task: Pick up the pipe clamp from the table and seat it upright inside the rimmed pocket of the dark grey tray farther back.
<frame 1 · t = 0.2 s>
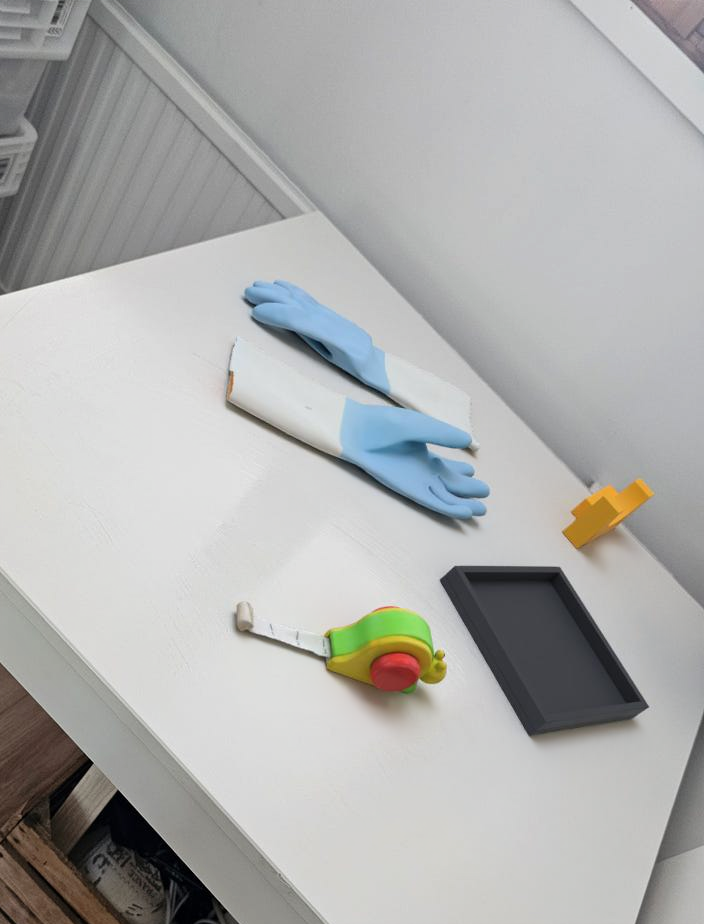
dark grey tray: (537, 650, 103), on the table
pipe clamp: (583, 525, 125), on the table
toy measuring tape: (331, 656, 86), on the table
rubber gloves: (359, 403, 114), on the table
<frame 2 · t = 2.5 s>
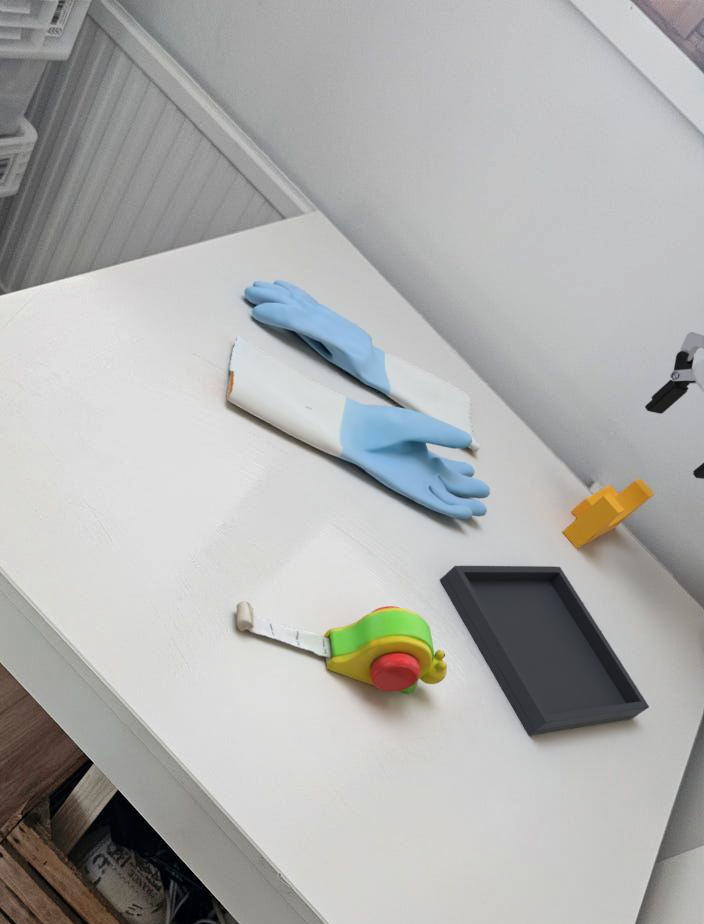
hand: (675, 442, 116), 14 cm above the table, tool pointing down, fingers open, 9 cm apart
nothing on the table moved.
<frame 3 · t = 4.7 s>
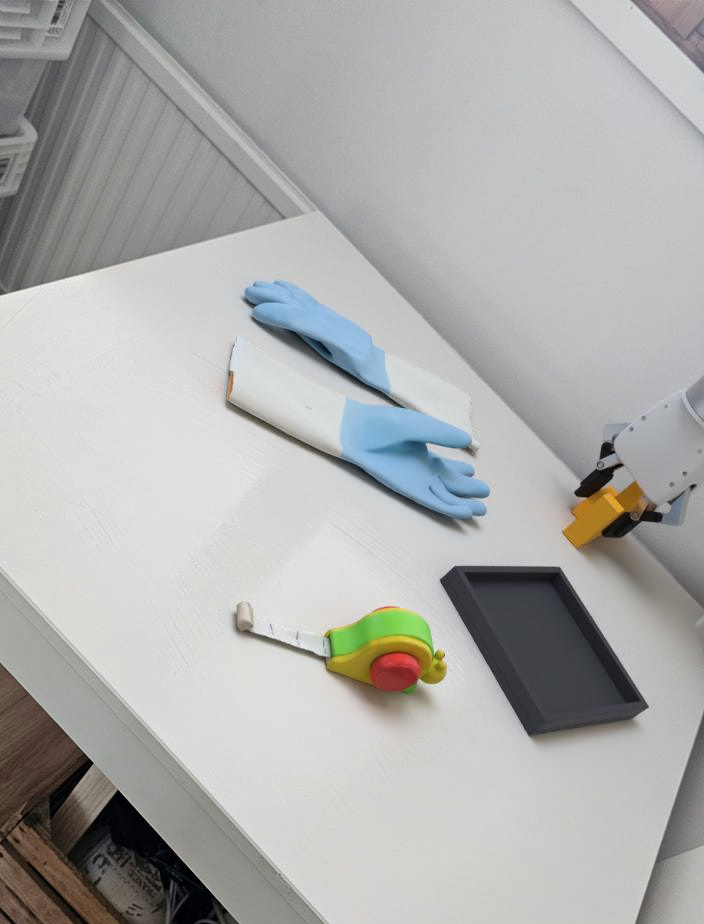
hand: (595, 514, 124), 2 cm above the table, tool pointing down, fingers closed on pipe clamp, 5 cm apart
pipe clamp: (583, 525, 125), on the table, touching gripper
everything else where it was.
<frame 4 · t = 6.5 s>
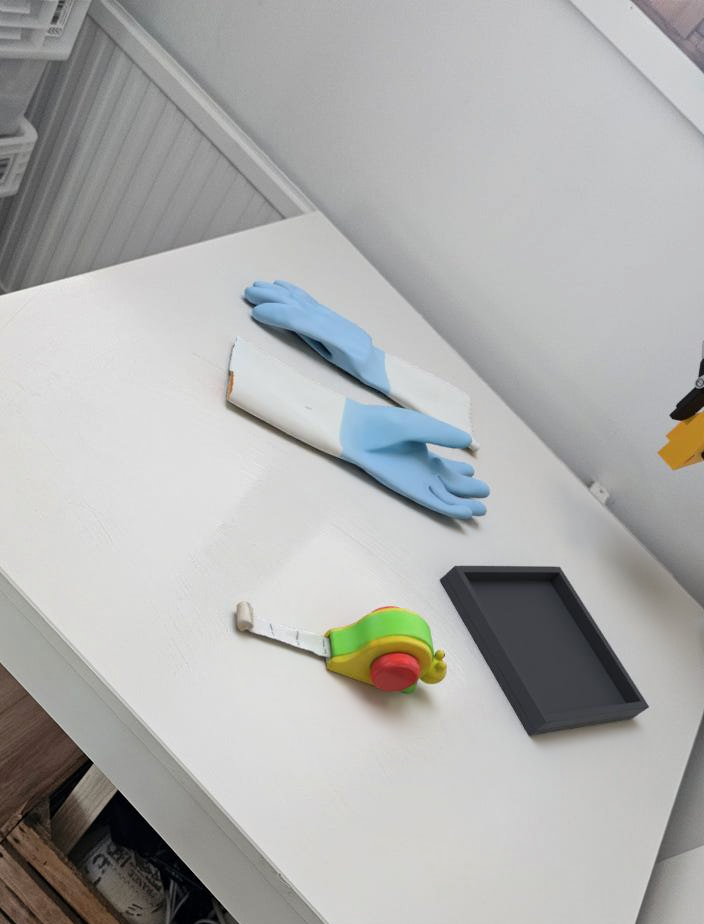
hand: (693, 437, 114), 16 cm above the table, tool pointing down, fingers closed on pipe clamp, 5 cm apart
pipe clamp: (678, 451, 116), point 14 cm above the table, touching gripper
everything else where it was.
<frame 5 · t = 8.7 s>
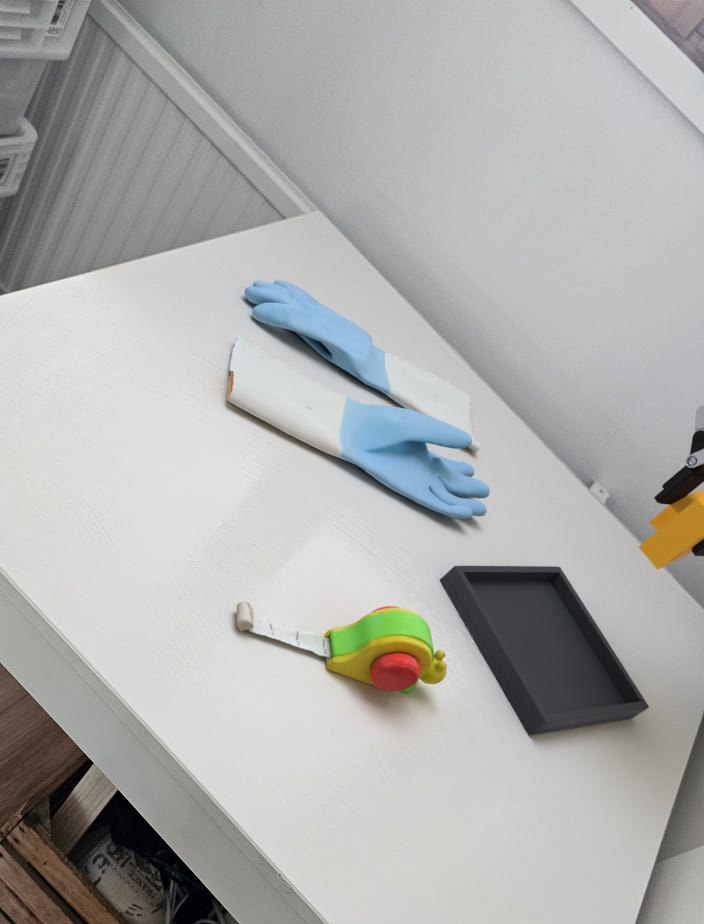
hand: (683, 525, 93), 18 cm above the table, tool pointing down, fingers closed on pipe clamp, 5 cm apart
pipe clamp: (664, 540, 95), point 16 cm above the table, touching gripper
everything else where it was.
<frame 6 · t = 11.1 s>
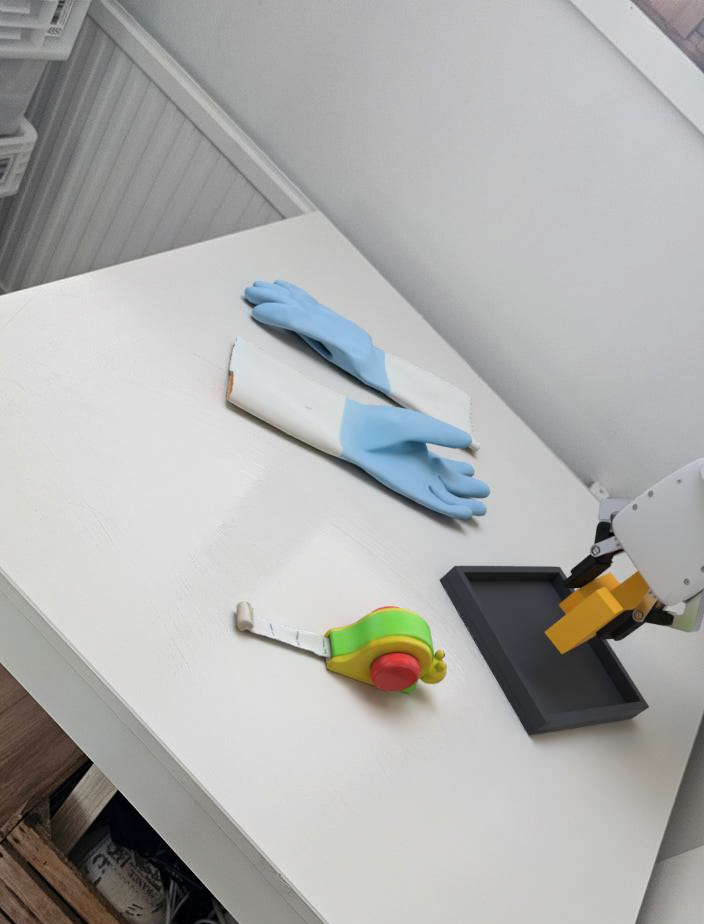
hand: (589, 609, 99), 7 cm above the table, tool pointing down, fingers closed on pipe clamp, 5 cm apart
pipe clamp: (573, 622, 100), point 5 cm above the table, touching gripper
everything else where it was.
when the fingers open (3 cm above the table, at t = 12.6 s): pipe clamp stays where it is, resting on dark grey tray.
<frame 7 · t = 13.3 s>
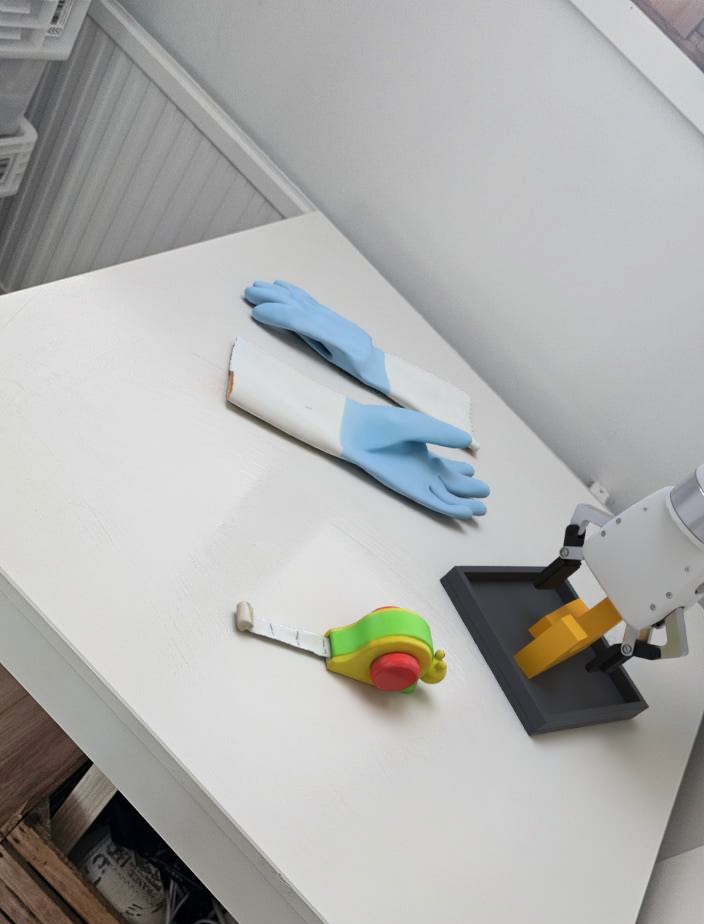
hand: (567, 627, 101), 4 cm above the table, tool pointing down, fingers open, 9 cm apart
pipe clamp: (542, 647, 103), point 1 cm above the table, touching dark grey tray
everything else where it was.
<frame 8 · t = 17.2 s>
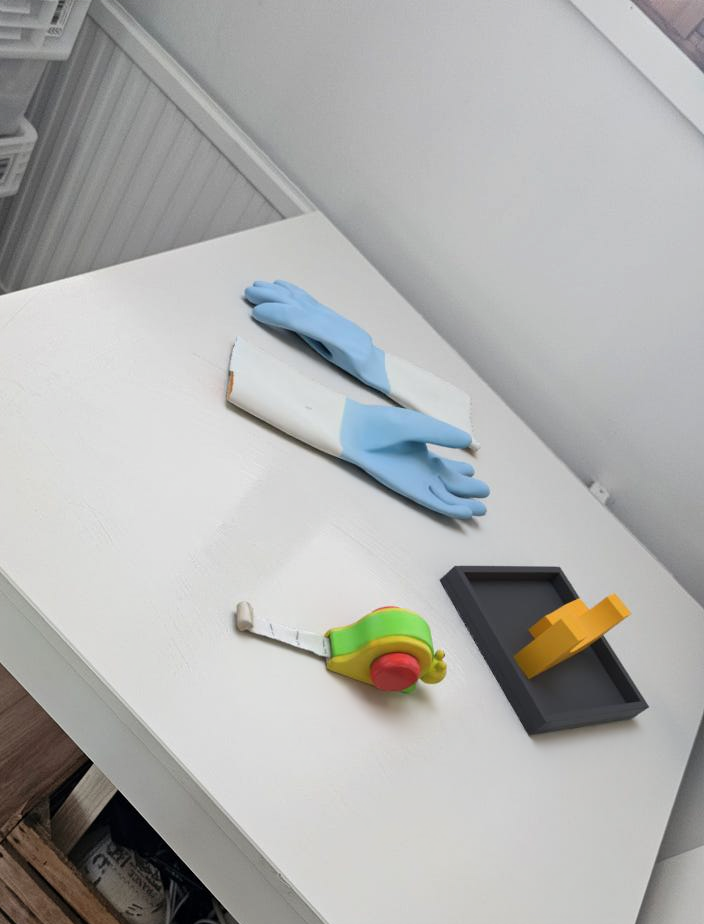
nothing on the table moved.
at the end: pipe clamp inside the target area in the dark grey tray (0.0 cm from its centre), point 0.6 cm above the dark grey tray's base; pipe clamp tilted 0°; the gripper is holding nothing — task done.
